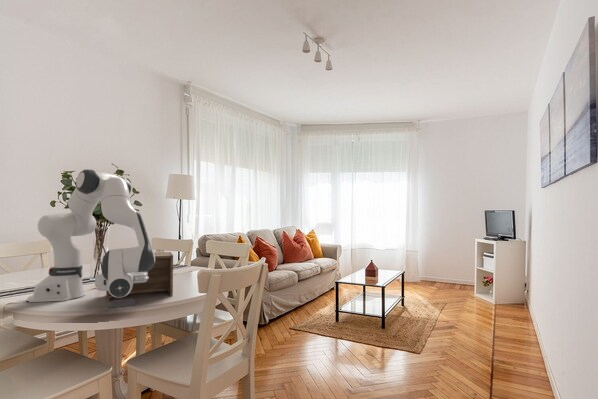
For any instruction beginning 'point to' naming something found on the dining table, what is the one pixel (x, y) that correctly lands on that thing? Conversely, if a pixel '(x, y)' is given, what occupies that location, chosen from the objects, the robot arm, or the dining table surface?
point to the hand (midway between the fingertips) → (122, 275)
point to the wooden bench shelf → (156, 276)
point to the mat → (121, 303)
